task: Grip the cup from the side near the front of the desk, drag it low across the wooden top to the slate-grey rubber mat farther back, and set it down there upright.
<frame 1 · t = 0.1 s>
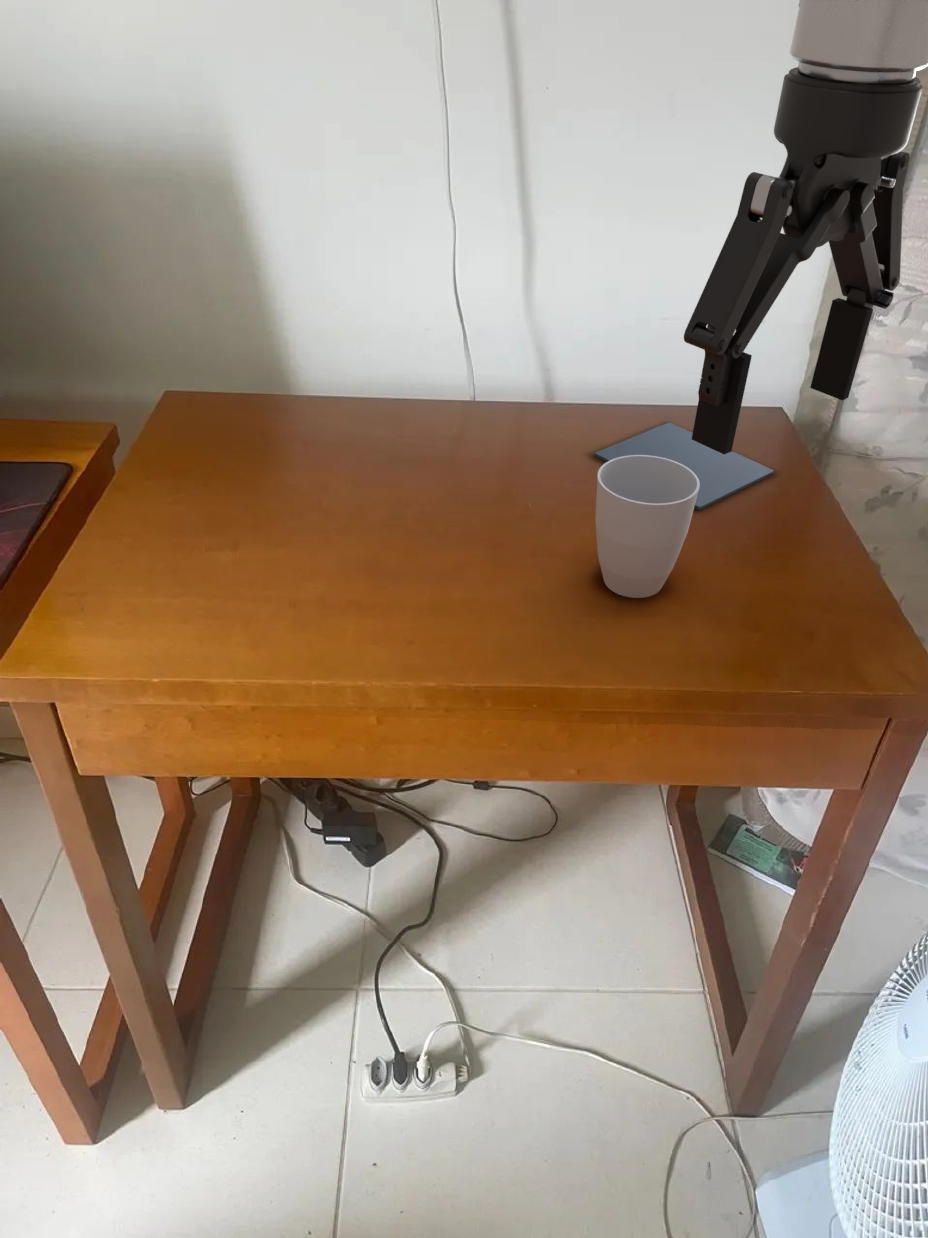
hand: (773, 418, 68), 19 cm above the table, tool pointing down, fingers open, 13 cm apart
mat: (682, 464, 102), on the table
cup: (632, 582, 85), on the table
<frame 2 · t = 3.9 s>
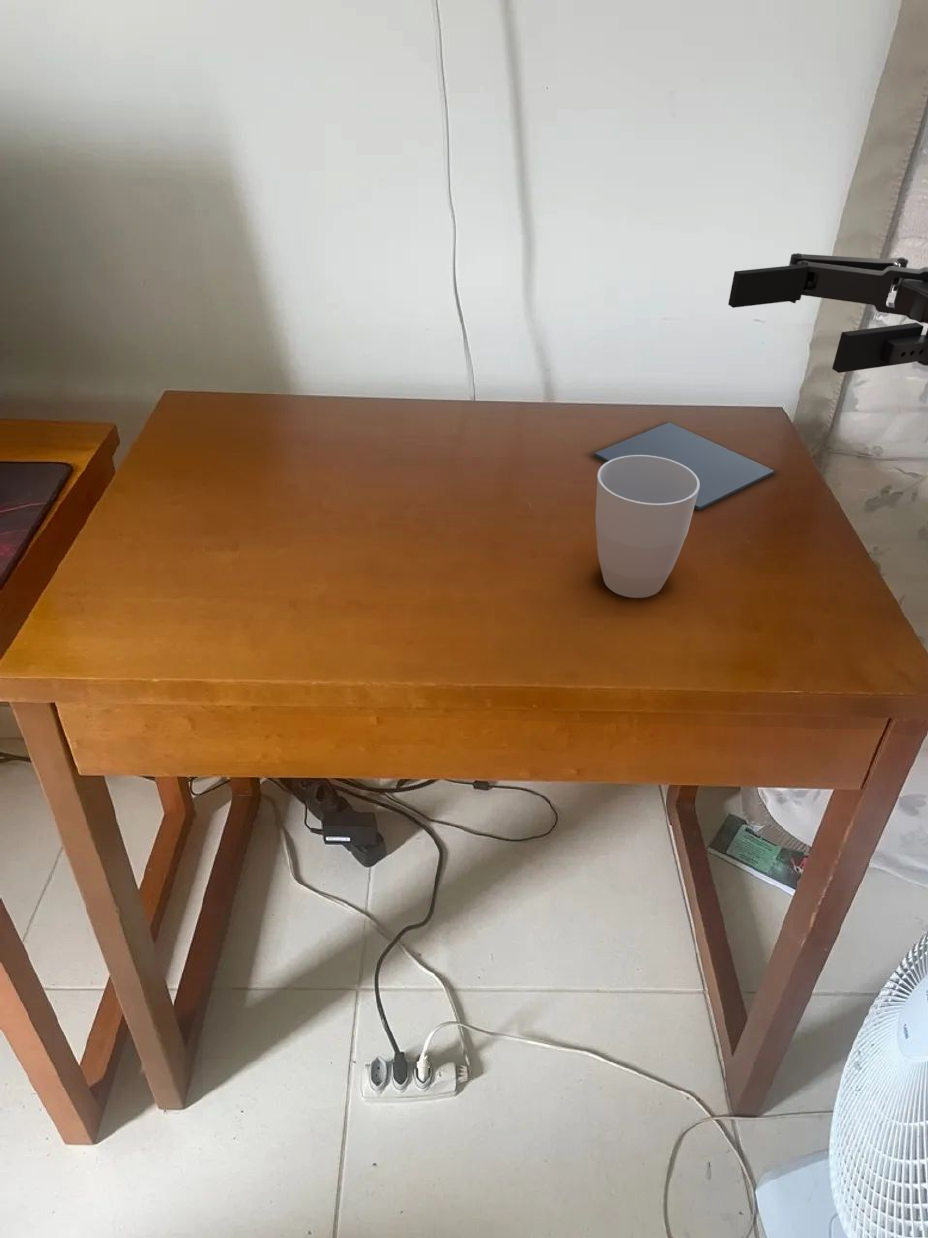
hand: (782, 318, 74), 22 cm above the table, tool horizontal, fingers open, 13 cm apart
nothing on the table moved.
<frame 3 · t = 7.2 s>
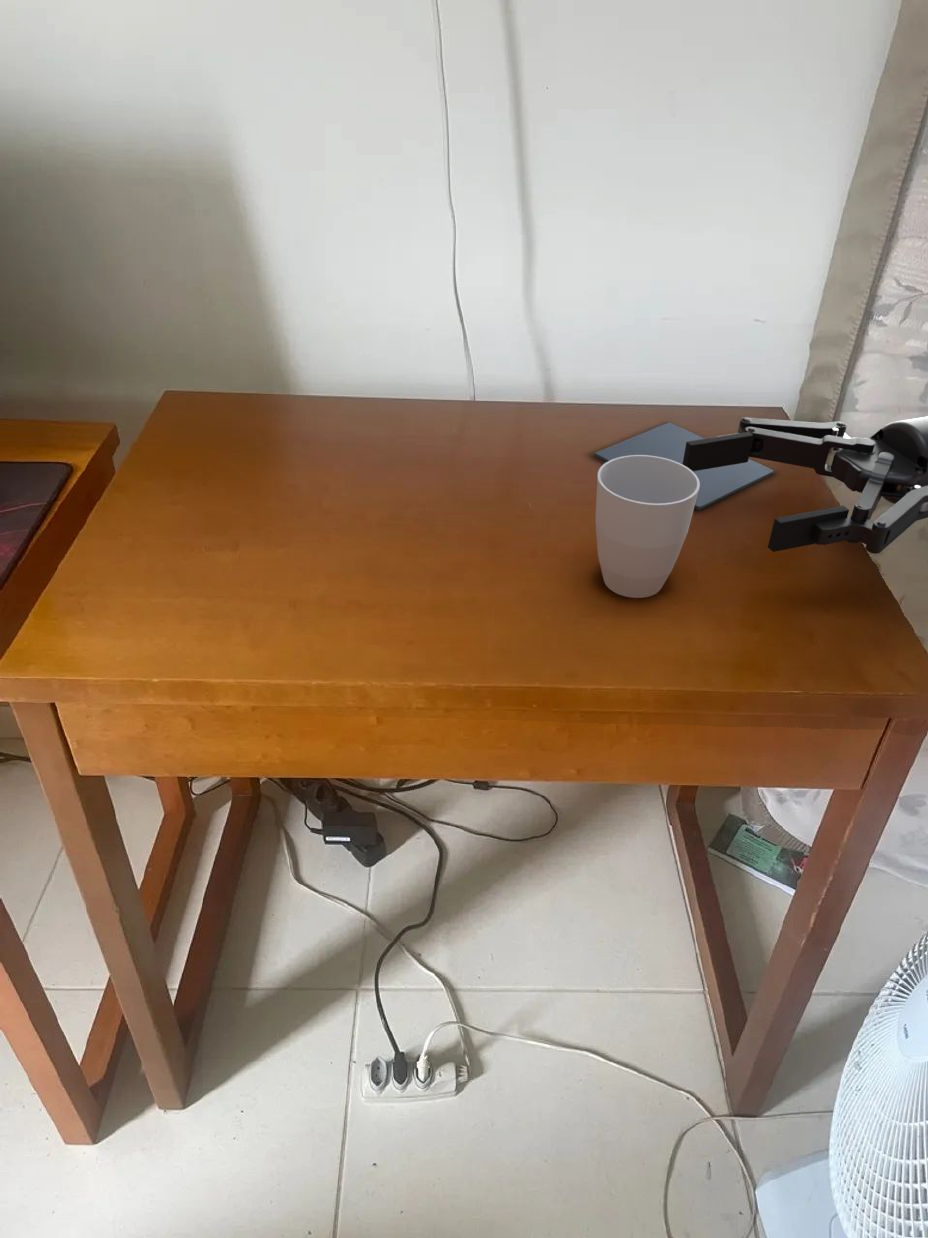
hand: (726, 493, 83), 7 cm above the table, tool horizontal, fingers open, 13 cm apart
nothing on the table moved.
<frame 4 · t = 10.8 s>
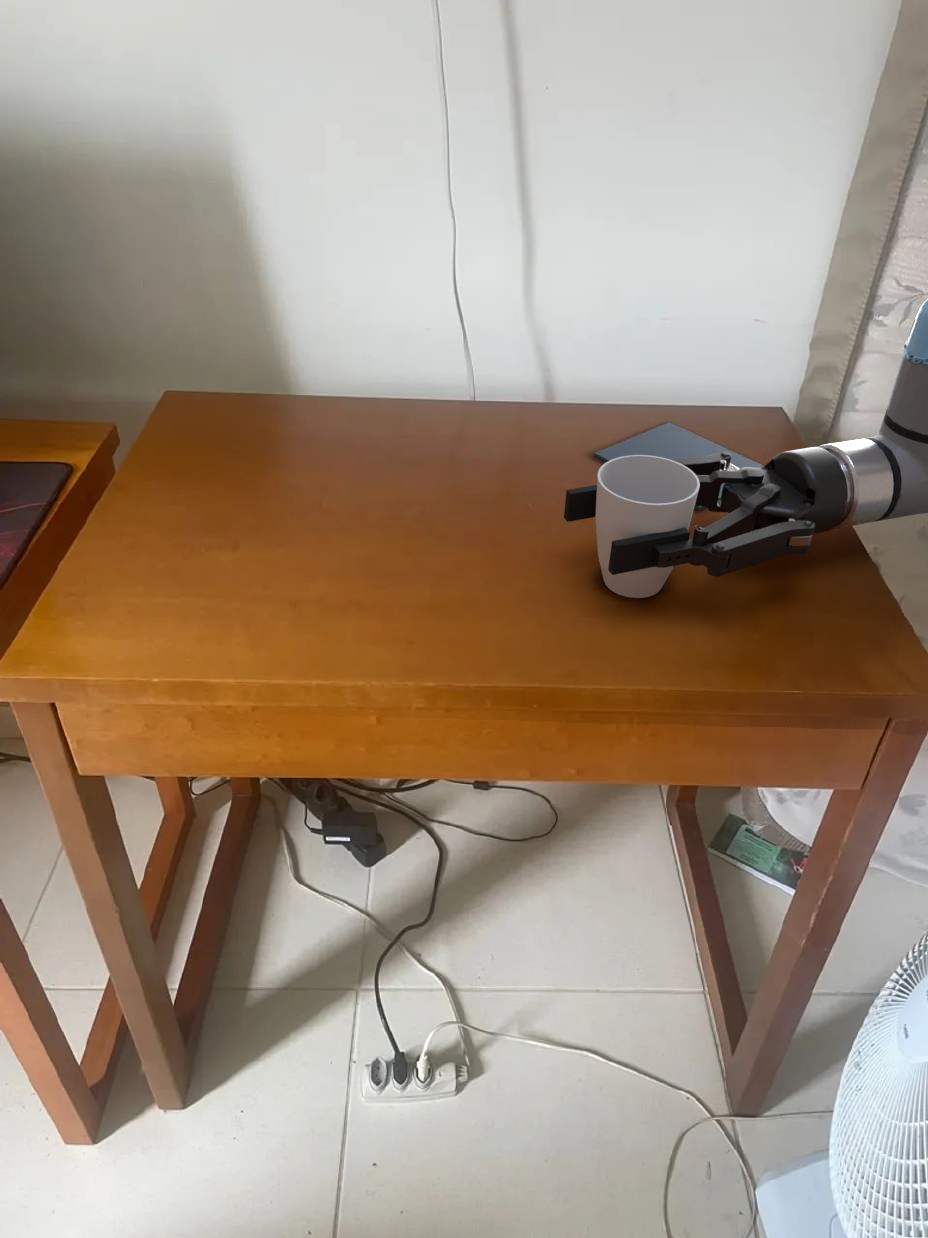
hand: (589, 531, 80), 6 cm above the table, tool horizontal, fingers closed on cup, 8 cm apart
cup: (632, 582, 85), on the table, touching gripper
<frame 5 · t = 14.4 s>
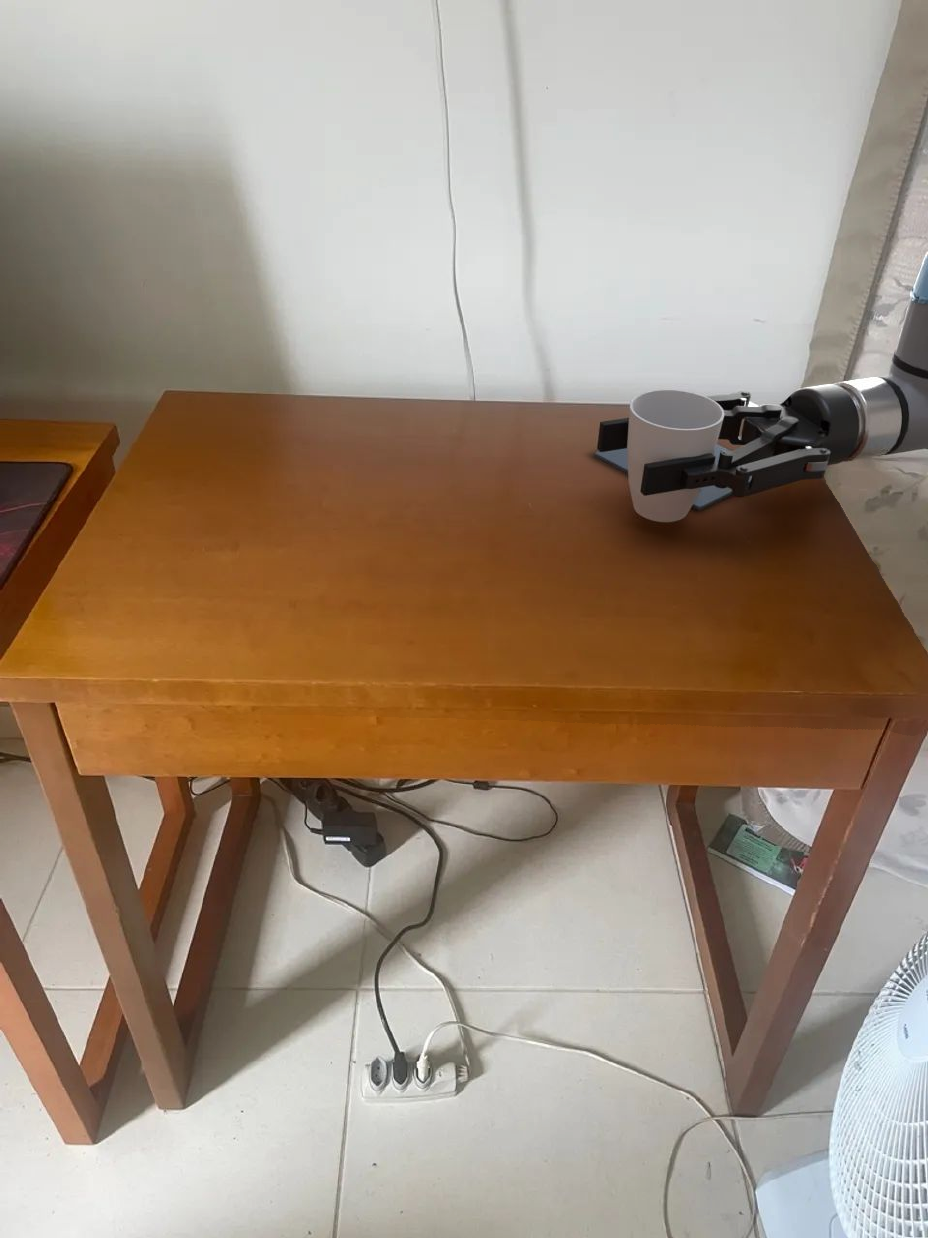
hand: (621, 457, 86), 8 cm above the table, tool horizontal, fingers closed on cup, 8 cm apart
cup: (659, 509, 92), point 1 cm above the table, touching gripper
when the fingers open (6 cm above the table, at t = 18.3 s): cup stays where it is, resting on mat.
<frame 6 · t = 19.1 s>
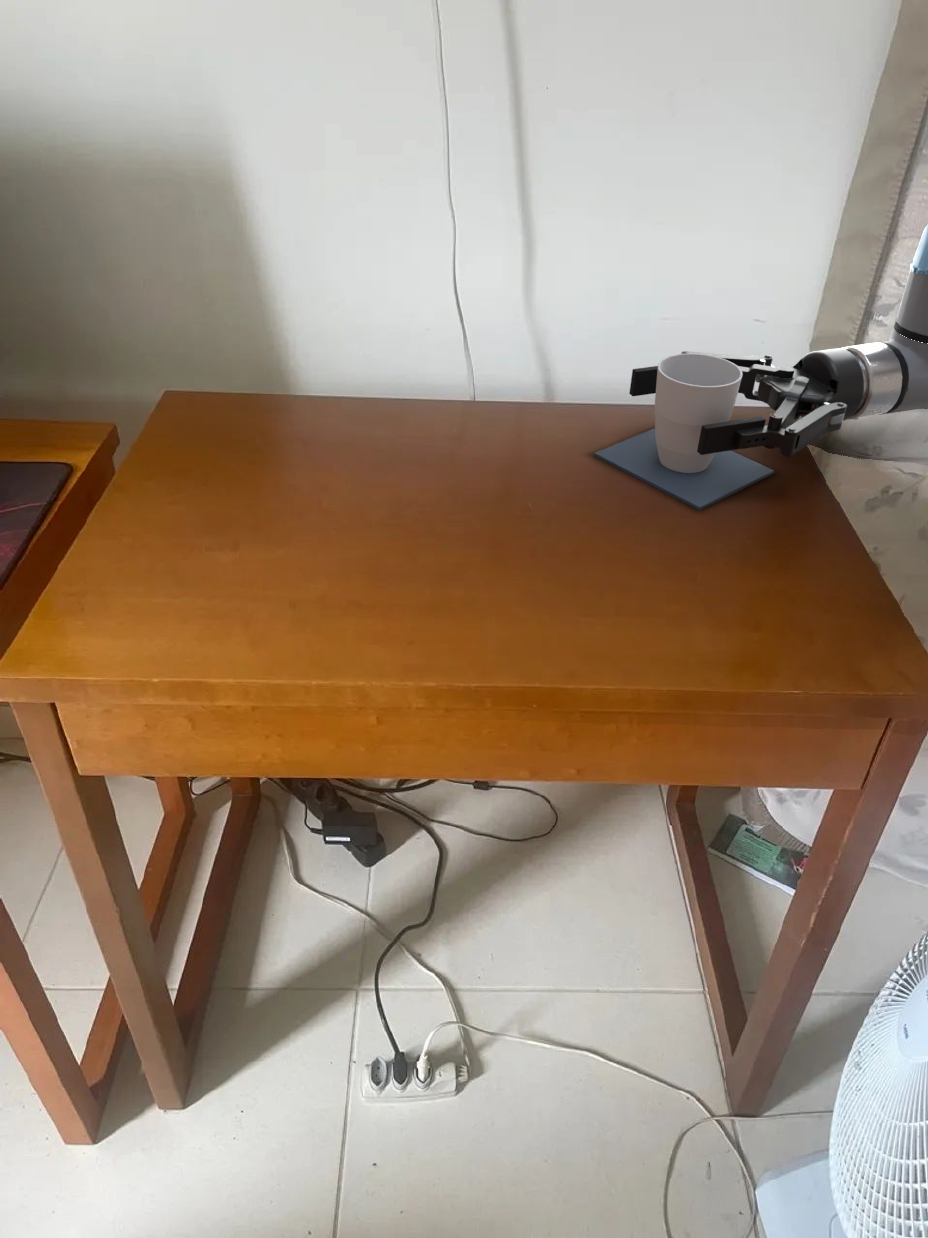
hand: (664, 410, 97), 7 cm above the table, tool horizontal, fingers open, 13 cm apart
cup: (683, 462, 102), resting on mat
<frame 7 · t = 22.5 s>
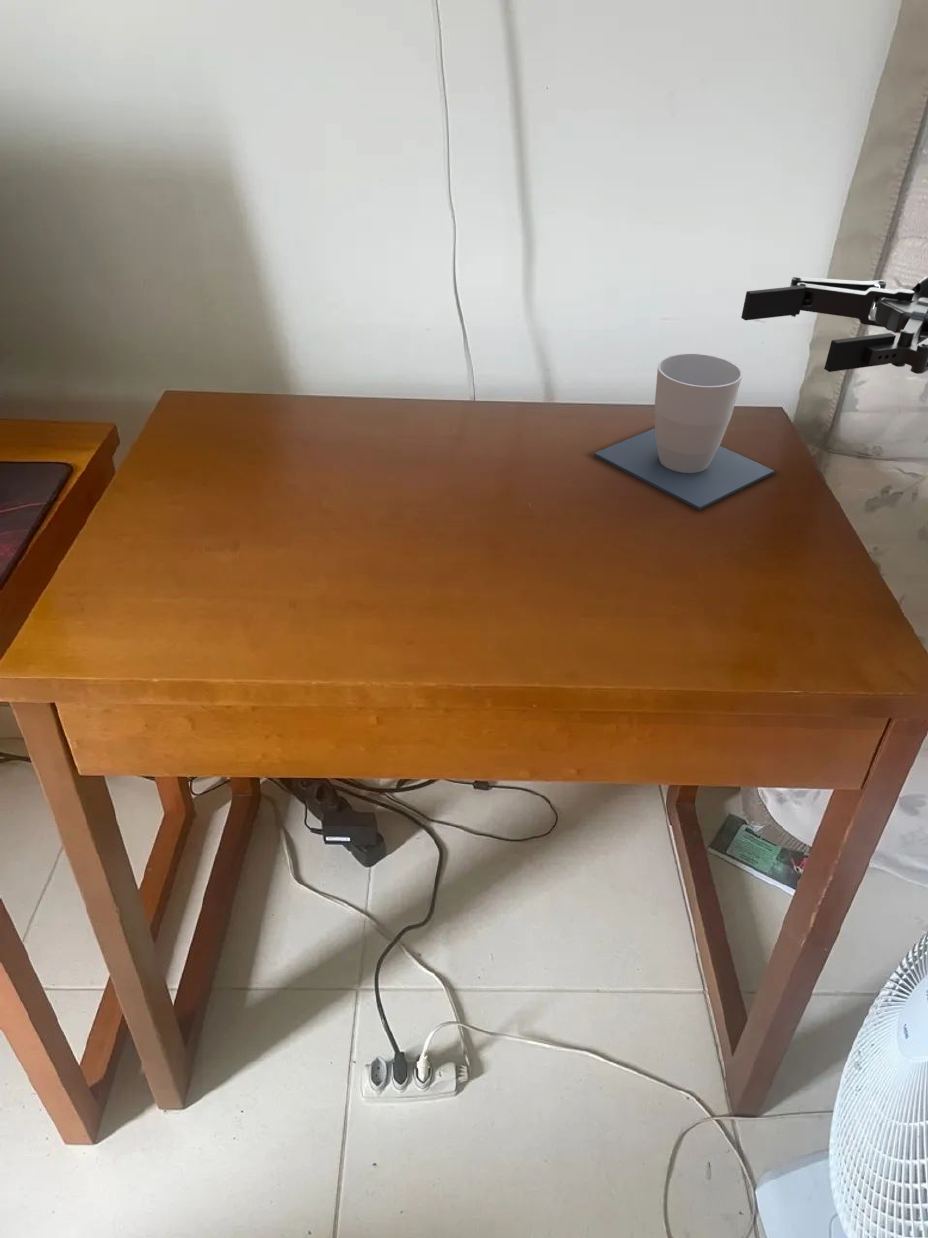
hand: (785, 329, 93), 14 cm above the table, tool horizontal, fingers open, 13 cm apart
nothing on the table moved.
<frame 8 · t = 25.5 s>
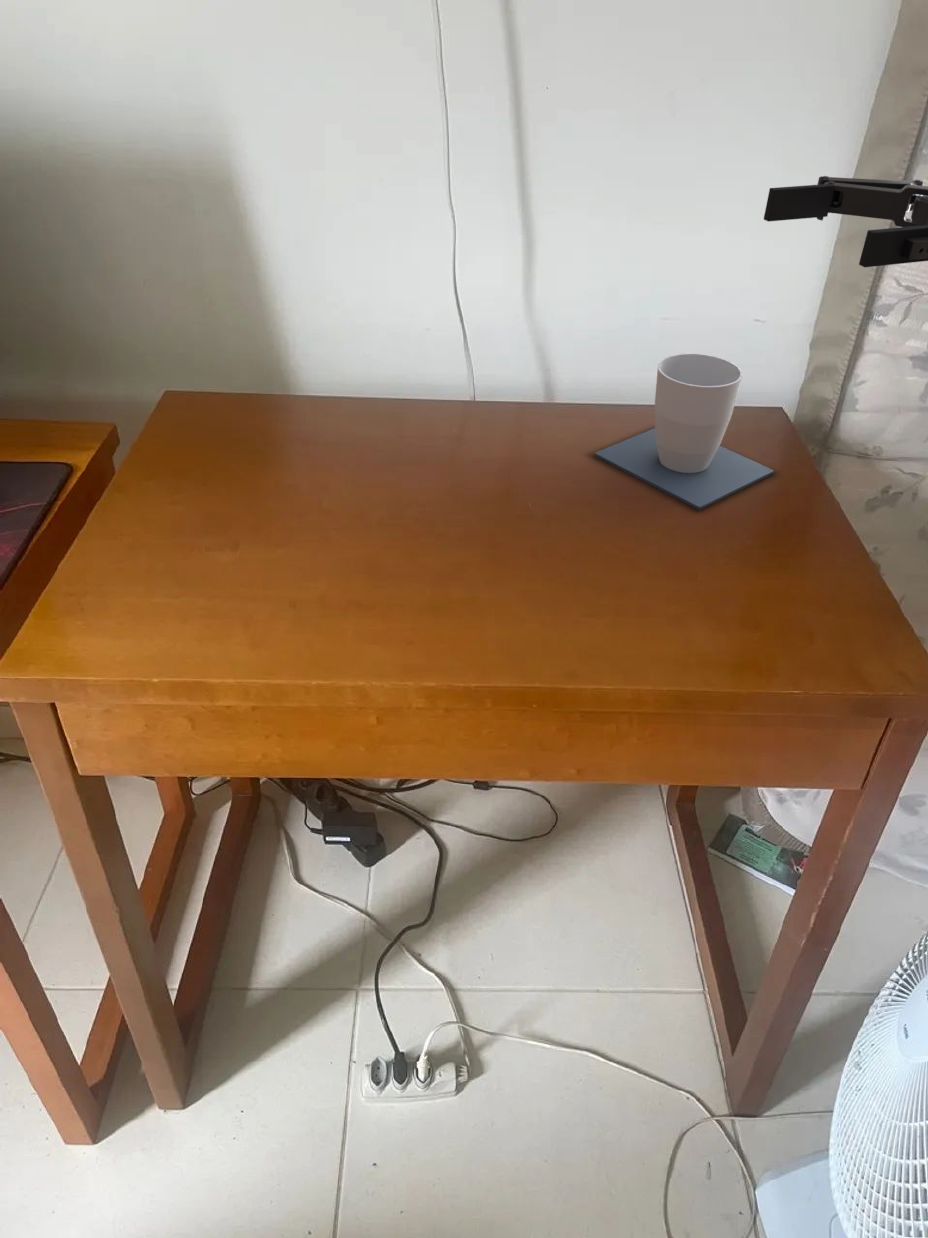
hand: (814, 225, 84), 25 cm above the table, tool horizontal, fingers open, 13 cm apart
nothing on the table moved.
at the end: cup inside the target area on the mat (0.0 cm from its centre), point 0.2 cm above the mat's base; cup tilted 0°; the gripper is holding nothing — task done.
